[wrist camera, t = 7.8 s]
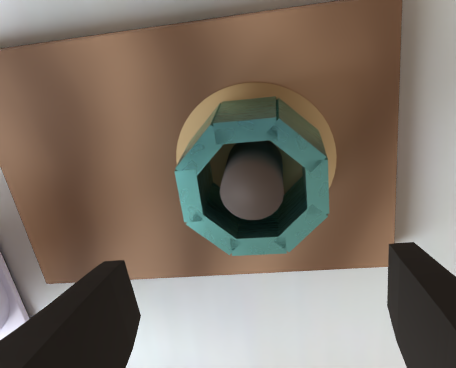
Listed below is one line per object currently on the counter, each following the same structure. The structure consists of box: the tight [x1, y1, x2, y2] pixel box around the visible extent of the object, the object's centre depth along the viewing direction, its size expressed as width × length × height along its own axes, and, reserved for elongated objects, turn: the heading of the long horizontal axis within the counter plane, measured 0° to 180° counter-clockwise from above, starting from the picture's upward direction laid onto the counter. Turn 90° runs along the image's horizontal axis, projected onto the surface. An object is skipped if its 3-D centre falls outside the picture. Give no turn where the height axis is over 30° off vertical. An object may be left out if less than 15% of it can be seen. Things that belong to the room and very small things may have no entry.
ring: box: [174, 96, 329, 256], centre depth 17 cm, size 6×6×3 cm
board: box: [0, 0, 402, 284], centre depth 18 cm, size 18×12×4 cm, turn 98°
